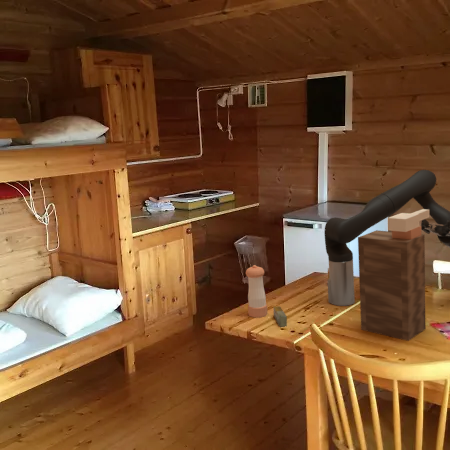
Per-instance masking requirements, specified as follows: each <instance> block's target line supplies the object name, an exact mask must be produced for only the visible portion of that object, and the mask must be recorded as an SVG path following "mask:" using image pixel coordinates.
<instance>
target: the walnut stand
mask: <svg viewBox="0 0 450 450" xmlns="http://www.w3.org/2000/svg"><path fill="white" fill-rule="evenodd" d="M425 245H426V244H425V234H422V233H421V236H418V237H416V238H414V239H412V240H410V239H400V238H392V231H389V230H388V231H387V230H378V229H377V230H374V231H371V232H369V233H366V234H363V235H359V236H358V237H357V248H358V249H357V250H358V274H359V277H358V278H359V281H358V283H359V306H360V307H359V308H360V330H362V331H365V332H370V333H374V334H379V335H383V336H386V337H392V338H395V339H399V340H403V341H408V342H409V341H410V340H412V339H413V338H415V337H416V336H417V335H419V334H420V333H422V332H423V331H425V330H426V328H427V327H426V324H427V323H426V262H425V261H426V258H425V257H426V256H425V255H426V254H425V253H426V252H425V250H426V249H425Z"/></svg>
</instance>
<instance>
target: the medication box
mask: <svg viewBox="0 0 450 450" xmlns="http://www.w3.org/2000/svg"><path fill="white" fill-rule="evenodd" d="M273 317H274V320H275V321H276V323H277V325H278V326H280V327H279V328H284V327H285V326H286V327H287V326H288V324H287V323H288V317H287V314H286V313H285V311H284V310H283V308H282V306H280V305H278V306H276V305H275V306H273Z"/></svg>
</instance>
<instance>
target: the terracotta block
mask: <svg viewBox="0 0 450 450" xmlns="http://www.w3.org/2000/svg"><path fill="white" fill-rule="evenodd" d="M391 232H392V238H400V239H410V240H412V239H414V238H416V237H418V236H421V234H422V230H421V225H419V227H417V228H415V229H412V230H410V231H407V232H400V231H391Z"/></svg>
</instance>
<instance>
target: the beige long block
mask: <svg viewBox="0 0 450 450" xmlns="http://www.w3.org/2000/svg"><path fill="white" fill-rule="evenodd" d="M428 218H430V215H429V210H428V209H424V208H422V209H419V210H416V211H414V212H411V213H407V212H401V213H398V214H395V215H391V216H389V217H387V230H388V231H389V232H392V231H400V232H407V231H410V230H412V229H415V228H417V227H419V226H420V222H422V220H424V219H426V220H427V219H428Z"/></svg>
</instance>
